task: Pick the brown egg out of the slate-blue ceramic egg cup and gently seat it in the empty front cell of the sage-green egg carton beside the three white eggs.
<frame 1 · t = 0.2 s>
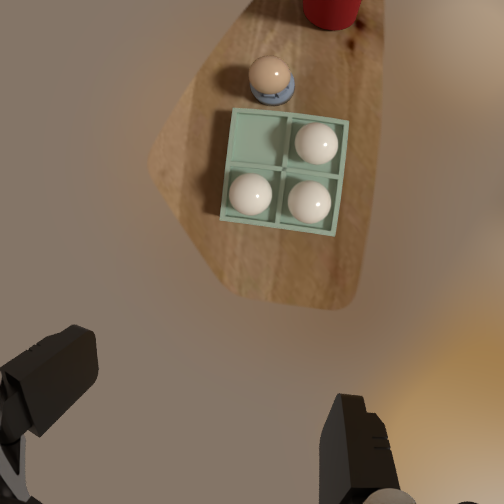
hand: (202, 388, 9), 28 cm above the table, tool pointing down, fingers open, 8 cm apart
white egg C: (308, 201, 33), point 2 cm above the table, touching egg carton
white egg B: (253, 193, 34), point 2 cm above the table, touching egg carton
white egg A: (315, 146, 32), point 2 cm above the table, touching egg carton
egg cup: (273, 86, 33), on the table
beverage can: (329, 13, 30), on the table
brown egg: (271, 81, 31), point 2 cm above the table, touching egg cup
egg carton: (285, 170, 35), on the table
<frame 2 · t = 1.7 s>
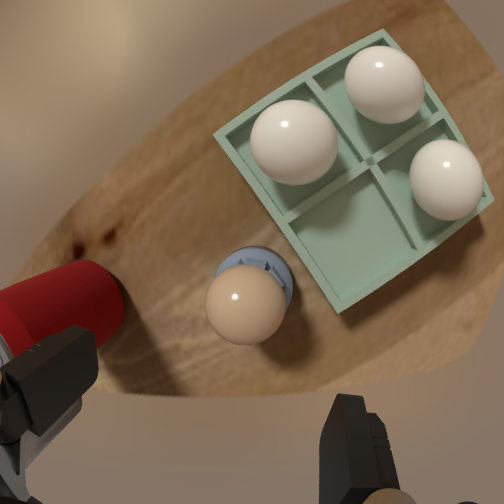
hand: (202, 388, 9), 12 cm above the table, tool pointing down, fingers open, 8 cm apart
white egg C: (375, 95, 16), point 2 cm above the table, touching egg carton
white egg B: (431, 180, 16), point 2 cm above the table, touching egg carton
white egg A: (294, 148, 17), point 2 cm above the table, touching egg carton
egg cup: (255, 282, 21), on the table
beverage can: (97, 296, 23), on the table
brown egg: (251, 292, 19), point 2 cm above the table, touching egg cup
egg carton: (360, 165, 18), on the table
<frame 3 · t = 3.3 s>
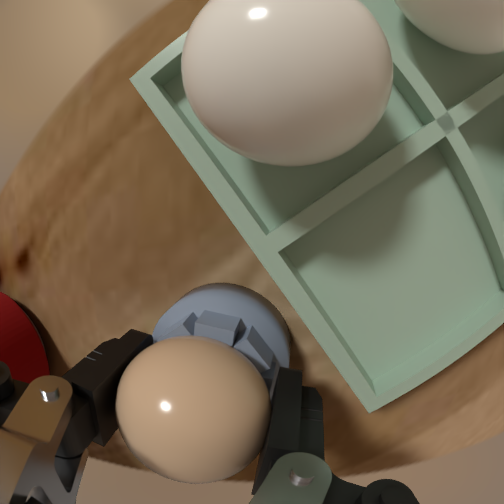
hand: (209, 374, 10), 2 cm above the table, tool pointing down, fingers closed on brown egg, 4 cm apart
white egg C: (434, 15, 6), point 2 cm above the table, touching egg carton
white egg A: (291, 95, 8), point 2 cm above the table, touching egg carton
egg cup: (226, 343, 12), on the table
beverage can: (22, 337, 15), on the table
brown egg: (213, 370, 10), point 2 cm above the table, touching egg cup, gripper
egg carton: (412, 137, 9), on the table
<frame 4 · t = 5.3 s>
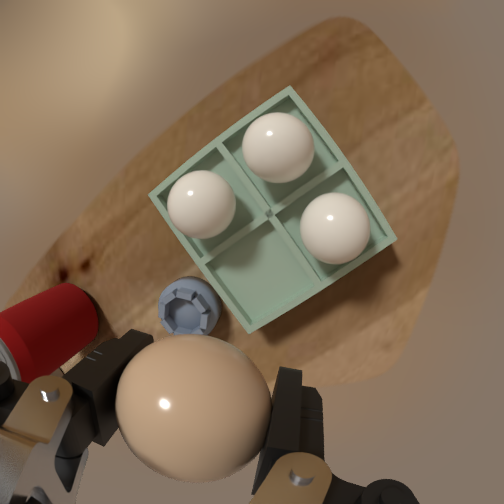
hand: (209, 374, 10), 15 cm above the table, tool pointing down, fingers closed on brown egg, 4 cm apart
white egg C: (280, 151, 20), point 2 cm above the table, touching egg carton
white egg B: (331, 224, 21), point 2 cm above the table, touching egg carton
white egg A: (211, 202, 22), point 2 cm above the table, touching egg carton
egg cup: (192, 304, 26), on the table
beverage can: (79, 310, 28), on the table
brown egg: (213, 369, 10), point 15 cm above the table, touching gripper
egg carton: (273, 210, 23), on the table
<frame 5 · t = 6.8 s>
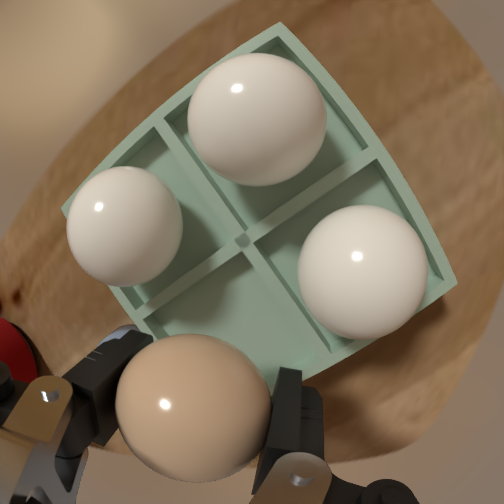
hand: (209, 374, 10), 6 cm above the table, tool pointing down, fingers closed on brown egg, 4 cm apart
white egg C: (264, 130, 11), point 2 cm above the table, touching egg carton
white egg B: (352, 257, 12), point 2 cm above the table, touching egg carton
white egg A: (150, 219, 13), point 2 cm above the table, touching egg carton
beverage can: (18, 349, 19), on the table
brown egg: (213, 369, 10), point 5 cm above the table, touching gripper
egg carton: (254, 230, 14), on the table
when the fingers open (3 cm above the table, at t = 7.7 s): brown egg drops 1 cm, resting on egg carton.
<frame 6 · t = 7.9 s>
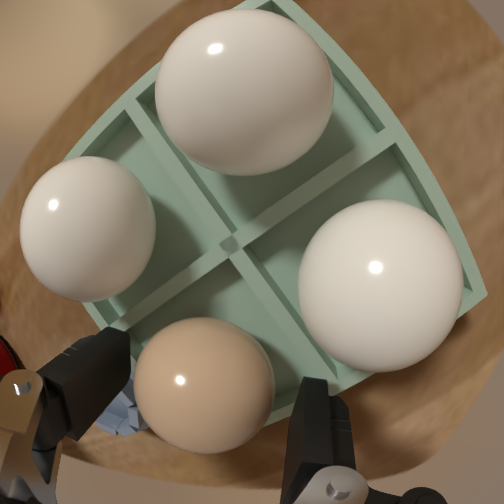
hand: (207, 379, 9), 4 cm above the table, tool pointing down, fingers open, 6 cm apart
white egg C: (256, 110, 9), point 2 cm above the table, touching egg carton
white egg B: (365, 264, 10), point 2 cm above the table, touching egg carton
white egg A: (123, 220, 11), point 2 cm above the table, touching egg carton
egg cup: (126, 378, 15), on the table
beverage can: (2, 358, 17), on the table
brown egg: (221, 352, 11), point 2 cm above the table, touching egg carton
egg carton: (247, 231, 12), on the table
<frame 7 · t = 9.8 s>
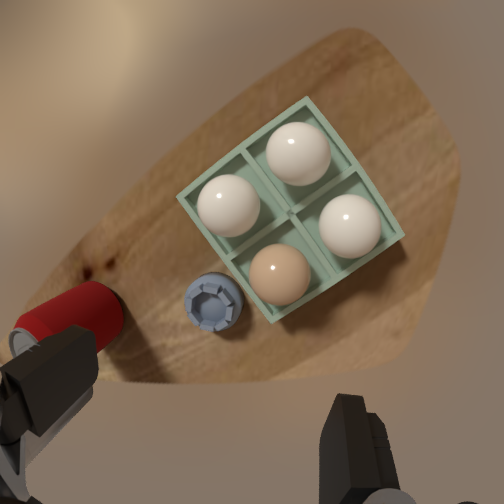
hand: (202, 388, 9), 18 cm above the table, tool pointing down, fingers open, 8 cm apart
white egg C: (299, 156, 22), point 2 cm above the table, touching egg carton
white egg B: (345, 222, 23), point 2 cm above the table, touching egg carton
white egg A: (235, 203, 24), point 2 cm above the table, touching egg carton
egg cup: (216, 298, 28), on the table
beverage can: (103, 307, 31), on the table
brown egg: (282, 266, 24), point 2 cm above the table, touching egg carton
egg carton: (291, 210, 25), on the table
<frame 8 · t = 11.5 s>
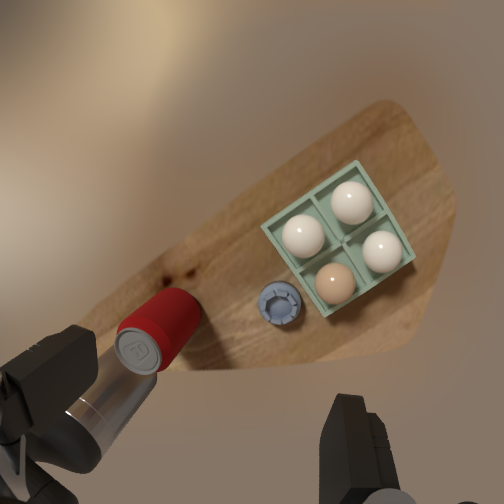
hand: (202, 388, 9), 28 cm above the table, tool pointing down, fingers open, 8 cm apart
white egg C: (348, 201, 32), point 2 cm above the table, touching egg carton
white egg B: (377, 247, 32), point 2 cm above the table, touching egg carton
white egg A: (303, 232, 33), point 2 cm above the table, touching egg carton
egg cup: (280, 300, 37), on the table
beverage can: (179, 309, 40), on the table
brown egg: (333, 277, 34), point 2 cm above the table, touching egg carton
egg carton: (339, 237, 35), on the table
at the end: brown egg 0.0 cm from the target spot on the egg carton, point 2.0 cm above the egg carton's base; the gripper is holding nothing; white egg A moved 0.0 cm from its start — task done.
